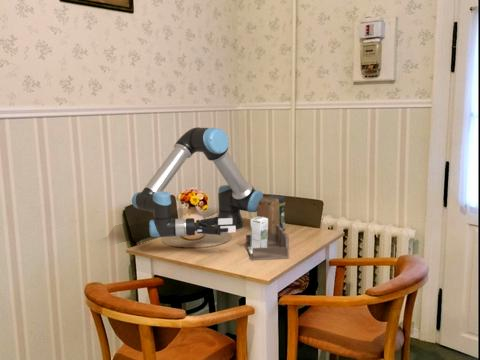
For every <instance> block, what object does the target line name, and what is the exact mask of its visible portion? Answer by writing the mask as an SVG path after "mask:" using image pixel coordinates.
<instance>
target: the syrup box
mask: <svg viewBox="0 0 480 360" xmlns="http://www.w3.org/2000/svg"><path fill="white" fill-rule="evenodd" d="M249 235H250V250H253V248H268V218H265V217H257V216H256V217H253V218H250V234H249Z"/></svg>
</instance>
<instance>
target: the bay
mask: <svg viewBox="0 0 480 360" xmlns="http://www.w3.org/2000/svg"><path fill="white" fill-rule="evenodd" d="M245 236H246V237H245V238H246V240H245V243H244V247H245V249H246V251H247V253H248V255H249V258H250V260H251V261H269V260H270V261H272V260H289V259H290V254H289V253H290V236H288V234H287V233H286V232H285V230H283V229H282V228H281V227H280V226H279V224H278V225H276V234H268V248H253V250H250V234H245Z"/></svg>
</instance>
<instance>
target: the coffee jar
mask: <svg viewBox="0 0 480 360" xmlns="http://www.w3.org/2000/svg"><path fill="white" fill-rule="evenodd" d="M267 197H272V198H277V199H278V200H279V210H280V227H281V228H282V229H283V231H285V229H286V215H285V207H286V202H287V201H286V197H285V196H284V195H276V194H270V195H268V196H267Z"/></svg>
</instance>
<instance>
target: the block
mask: <svg viewBox="0 0 480 360" xmlns="http://www.w3.org/2000/svg"><path fill="white" fill-rule="evenodd" d="M256 217H265V218H268V234H276V225H278V224H279V226H280V210H279V200H278V199H277V198H272V197H268V196H263V198H262V199H260V200H259V202H258V206H257V212H256Z"/></svg>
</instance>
